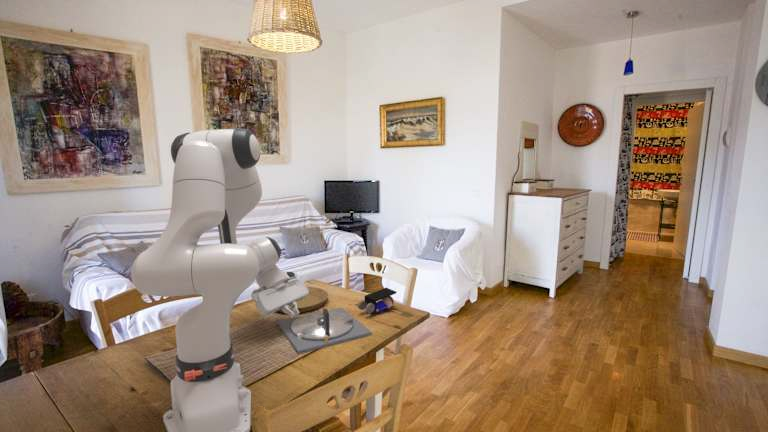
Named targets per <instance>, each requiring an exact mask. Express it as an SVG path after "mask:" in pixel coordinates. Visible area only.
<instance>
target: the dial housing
mask: <svg viewBox="0 0 768 432" xmlns="http://www.w3.org/2000/svg"><path fill="white" fill-rule="evenodd" d="M327 310H328V311H334V312H340V313H344V314H347V315H349V316H350V317H351V318H352V319H353V327H352V329H351V330H350V331H349V332H348V333H346V334H344V335H342V336H339V337H336V338H332V339H328V336H327V335H325V340H308V339H303V338H302V335H301V334H300V333H299V334H297V336H296V335H294V334H293V332H292V323H293V322H294V321H295V320H296V319H298V318H299V317H301V316H302V315H301V316H295V317H293V318H290V317H289V318H286V319H282V320H277V321H276V323H277V326H278V327H279V328H280V330H281V331H282V333H283V334H284V336H285V337H286V338H287V340H288V341H289V343H290V344H291V346H292V347H293V348H294V350H295V352H296V351H297V352H296V353H297V355H301V354H304V353H303V352H305V353H308V351H309V352H311V351H315V350H320V349H323V348H328V347H331V346H335V345H338V344H344V343H346V342H350V341H355V340H358V339H362V338H366V337H369V336H372V335H373V334H372V333H373V332H372V330H370V329H369V328H367V327H366V326H365V325H364V324H363V323H361V321H359V320H358V319H356V317H354V316H353V315H351V314H350V313H349V312H348V311H347V310H346V309H344V308H343V307H337V308H334V309H327ZM300 353H301V354H300Z"/></svg>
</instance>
